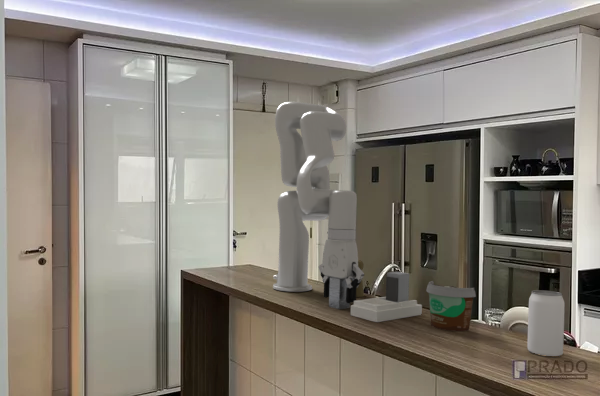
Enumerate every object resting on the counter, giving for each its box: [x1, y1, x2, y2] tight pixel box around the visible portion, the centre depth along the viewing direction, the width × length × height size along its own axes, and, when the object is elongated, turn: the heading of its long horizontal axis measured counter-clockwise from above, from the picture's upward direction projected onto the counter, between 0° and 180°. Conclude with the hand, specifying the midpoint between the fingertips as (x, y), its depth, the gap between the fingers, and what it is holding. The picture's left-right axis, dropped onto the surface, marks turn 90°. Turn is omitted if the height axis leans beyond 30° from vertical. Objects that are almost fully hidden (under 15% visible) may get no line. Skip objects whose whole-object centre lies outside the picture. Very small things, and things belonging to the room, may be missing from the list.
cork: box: [351, 259, 365, 298], centre depth 163 cm, size 6×6×11 cm
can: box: [526, 289, 565, 357], centre depth 106 cm, size 6×6×12 cm
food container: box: [426, 280, 477, 332], centre depth 124 cm, size 12×6×10 cm, turn 40°
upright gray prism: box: [328, 277, 352, 310], centre depth 145 cm, size 4×4×8 cm
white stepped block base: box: [350, 271, 423, 323], centre depth 136 cm, size 9×17×10 cm, turn 129°
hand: (339, 299), depth 144 cm, fingers open, 8 cm apart
